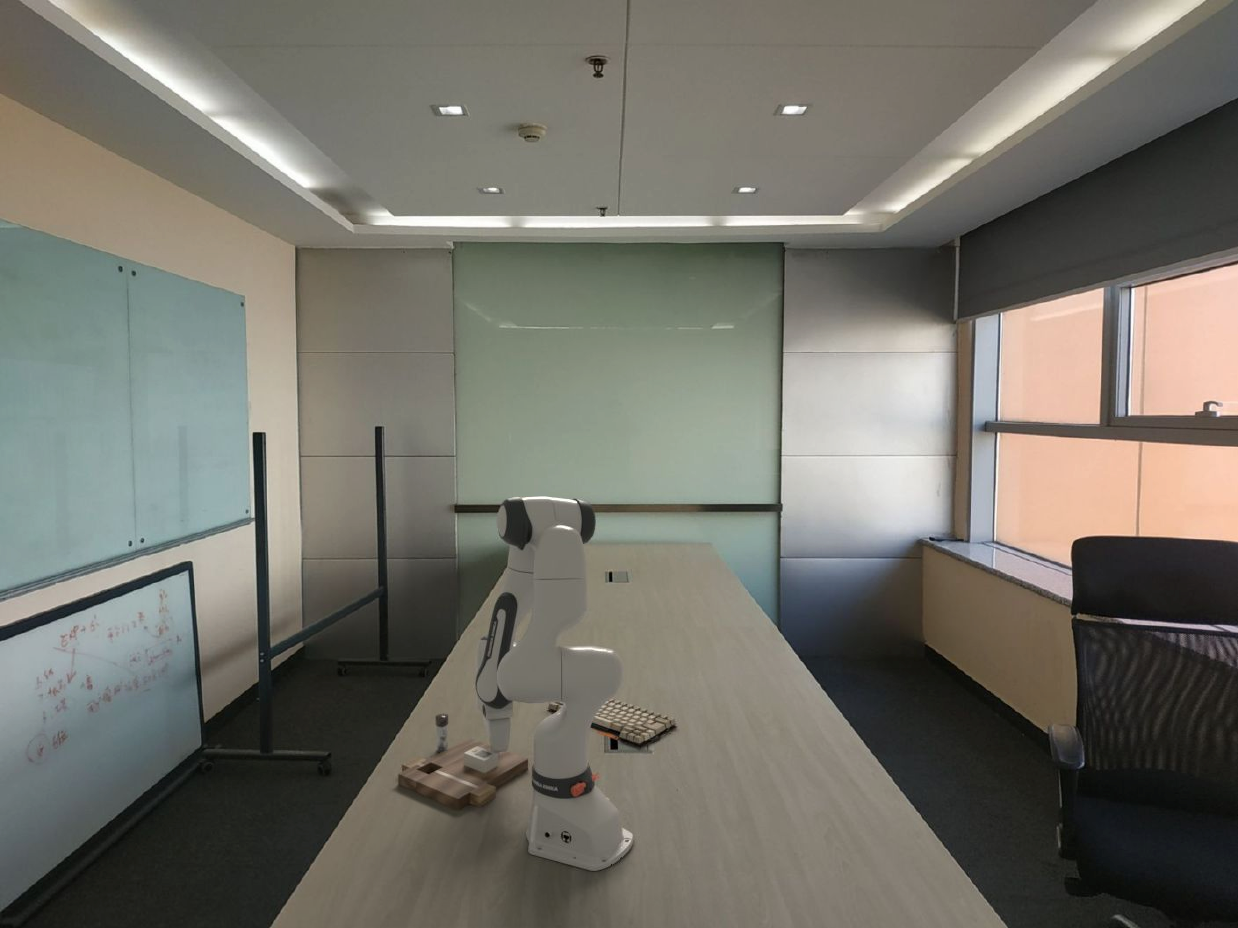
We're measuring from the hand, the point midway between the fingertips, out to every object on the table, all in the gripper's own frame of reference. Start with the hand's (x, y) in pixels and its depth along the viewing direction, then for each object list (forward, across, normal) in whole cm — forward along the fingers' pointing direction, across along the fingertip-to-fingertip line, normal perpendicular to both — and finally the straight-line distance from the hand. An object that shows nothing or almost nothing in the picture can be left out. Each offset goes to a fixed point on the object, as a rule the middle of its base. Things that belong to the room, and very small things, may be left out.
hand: (495, 753), depth 179 cm
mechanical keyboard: (+4, -20, +35) cm, 41 cm away
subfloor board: (+4, +2, -8) cm, 9 cm away
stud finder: (+1, +3, -4) cm, 5 cm away
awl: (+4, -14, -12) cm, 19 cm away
